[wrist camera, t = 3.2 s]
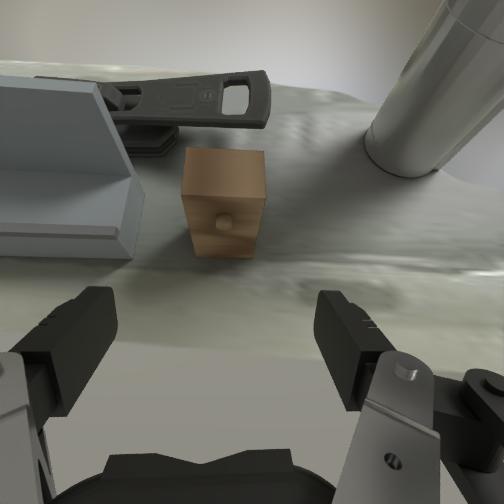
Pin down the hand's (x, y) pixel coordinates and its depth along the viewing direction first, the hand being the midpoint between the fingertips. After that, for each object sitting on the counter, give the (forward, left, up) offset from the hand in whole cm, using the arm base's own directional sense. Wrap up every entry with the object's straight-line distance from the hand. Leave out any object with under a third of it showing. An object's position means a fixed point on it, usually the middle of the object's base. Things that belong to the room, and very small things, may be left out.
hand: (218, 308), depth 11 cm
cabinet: (0, -10, -14) cm, 17 cm away
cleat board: (+18, -11, -14) cm, 25 cm away
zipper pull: (+8, -23, -14) cm, 29 cm away
